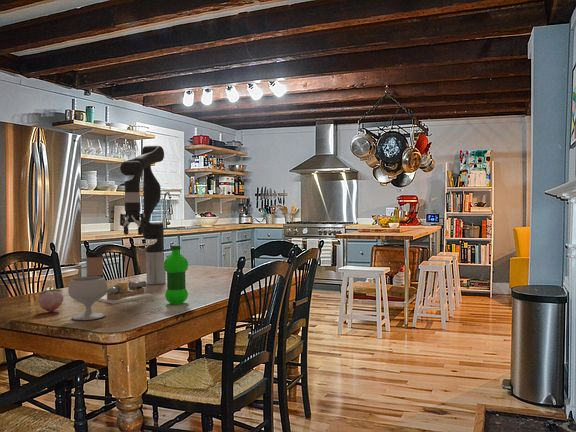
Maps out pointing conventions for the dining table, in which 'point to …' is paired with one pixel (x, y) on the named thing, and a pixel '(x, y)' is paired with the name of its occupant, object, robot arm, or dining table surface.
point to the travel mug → (94, 263)
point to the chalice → (87, 294)
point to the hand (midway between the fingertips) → (133, 234)
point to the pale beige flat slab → (126, 297)
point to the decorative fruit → (50, 299)
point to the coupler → (123, 287)
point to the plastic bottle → (176, 276)
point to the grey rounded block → (114, 293)
